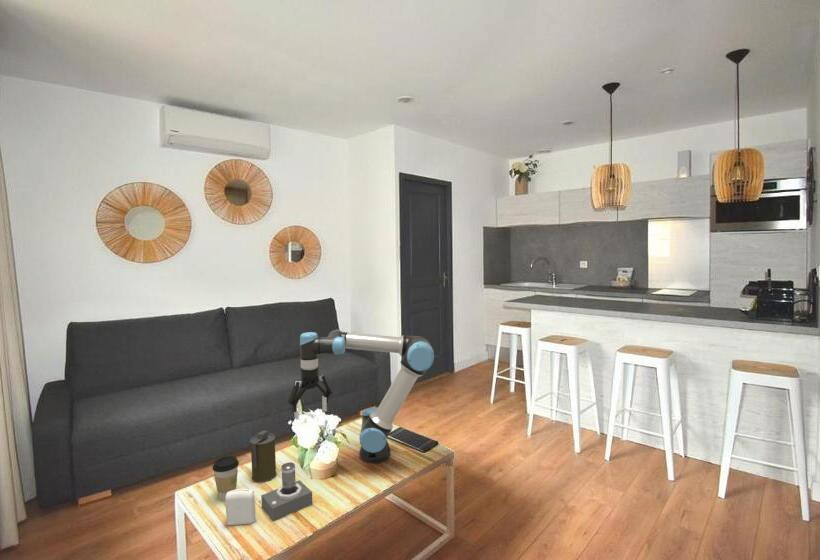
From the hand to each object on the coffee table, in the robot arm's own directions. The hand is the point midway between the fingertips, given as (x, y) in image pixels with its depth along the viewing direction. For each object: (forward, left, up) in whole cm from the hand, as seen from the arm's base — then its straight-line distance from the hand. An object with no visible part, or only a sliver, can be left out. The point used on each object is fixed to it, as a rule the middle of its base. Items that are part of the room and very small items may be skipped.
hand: (310, 414), depth 187 cm
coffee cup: (+35, -6, -27) cm, 45 cm away
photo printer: (+36, +14, -27) cm, 47 cm away
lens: (+18, +16, -22) cm, 32 cm away
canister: (+18, -11, -27) cm, 34 cm away
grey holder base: (+18, +16, -27) cm, 36 cm away
